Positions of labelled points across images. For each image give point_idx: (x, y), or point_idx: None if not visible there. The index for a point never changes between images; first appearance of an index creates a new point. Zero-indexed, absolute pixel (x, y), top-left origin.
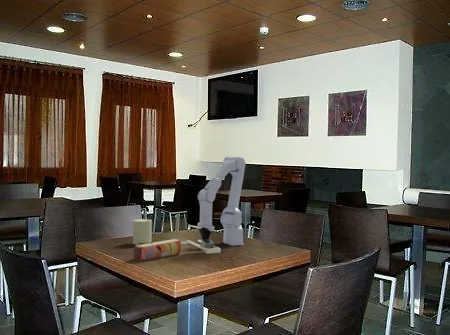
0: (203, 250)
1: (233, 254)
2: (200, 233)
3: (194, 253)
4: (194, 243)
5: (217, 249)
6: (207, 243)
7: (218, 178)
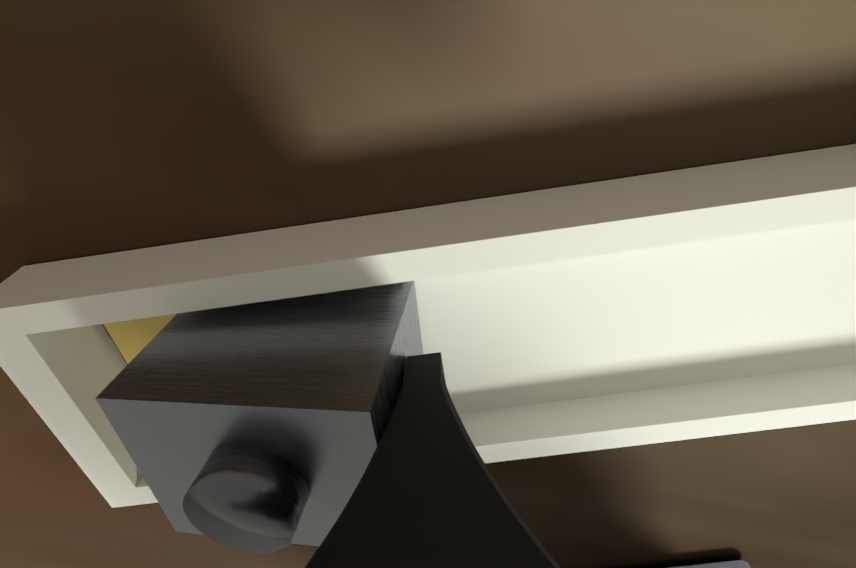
0: (174, 256)
1: (49, 537)
2: (524, 547)
3: (22, 16)
4: (699, 219)
5: (92, 458)
6: (123, 419)
7: None
